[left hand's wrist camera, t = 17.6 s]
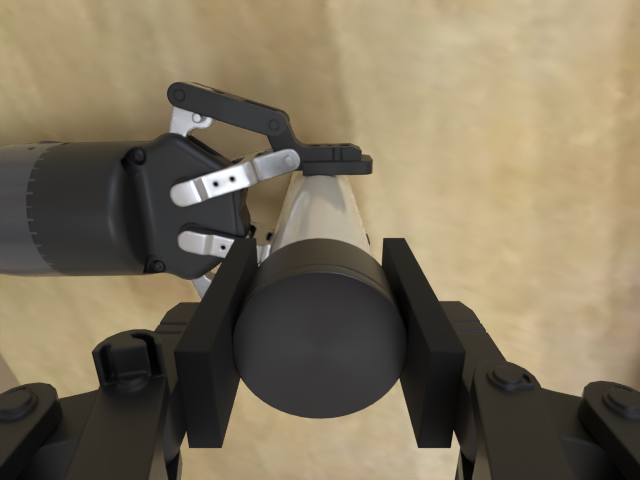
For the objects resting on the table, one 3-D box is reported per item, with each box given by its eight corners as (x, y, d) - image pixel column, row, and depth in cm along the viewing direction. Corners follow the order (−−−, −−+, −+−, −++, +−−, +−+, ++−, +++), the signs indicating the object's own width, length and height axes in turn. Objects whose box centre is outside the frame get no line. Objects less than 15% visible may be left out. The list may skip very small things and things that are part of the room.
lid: (310, 388, 14) (308, 443, 12) (215, 296, 12) (193, 340, 10) (422, 314, 13) (443, 361, 11) (331, 206, 11) (334, 234, 9)
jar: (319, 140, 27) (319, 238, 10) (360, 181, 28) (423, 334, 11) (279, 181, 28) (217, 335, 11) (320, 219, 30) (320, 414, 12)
